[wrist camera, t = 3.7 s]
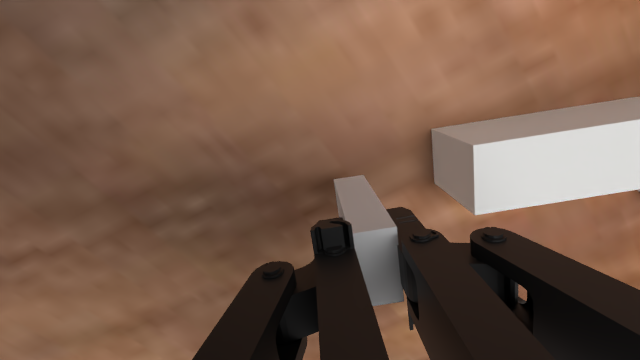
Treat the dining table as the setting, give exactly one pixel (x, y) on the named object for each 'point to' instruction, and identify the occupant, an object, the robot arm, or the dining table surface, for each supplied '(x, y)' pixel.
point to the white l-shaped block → (540, 156)
